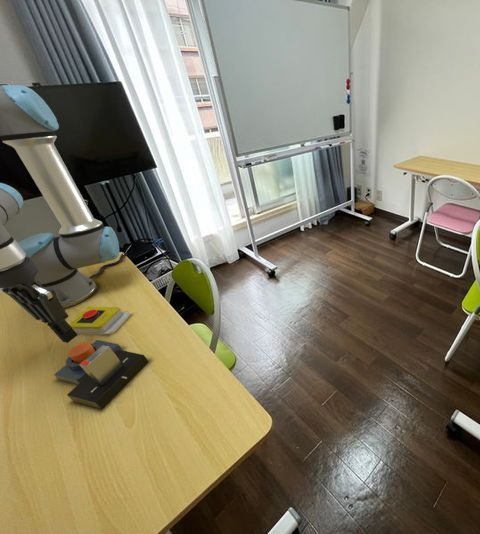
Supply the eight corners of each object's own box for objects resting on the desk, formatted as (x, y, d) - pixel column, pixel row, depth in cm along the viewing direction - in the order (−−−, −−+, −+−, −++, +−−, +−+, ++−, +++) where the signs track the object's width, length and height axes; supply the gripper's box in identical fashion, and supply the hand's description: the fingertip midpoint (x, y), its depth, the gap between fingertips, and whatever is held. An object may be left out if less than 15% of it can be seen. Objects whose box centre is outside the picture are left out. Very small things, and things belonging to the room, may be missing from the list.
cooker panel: (123, 356, 83) (117, 348, 82) (153, 362, 81) (148, 355, 79) (73, 401, 72) (66, 394, 71) (107, 411, 70) (100, 403, 68)
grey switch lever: (117, 363, 78) (102, 344, 73) (123, 365, 77) (108, 345, 73) (96, 383, 73) (78, 364, 68) (102, 385, 72) (85, 365, 68)
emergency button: (82, 303, 96) (125, 303, 95) (89, 313, 99) (132, 313, 98) (57, 324, 89) (104, 324, 88) (66, 334, 91) (111, 334, 90)
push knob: (86, 346, 82) (81, 340, 81) (99, 349, 81) (94, 343, 80) (68, 360, 78) (63, 354, 77) (82, 364, 77) (77, 358, 76)
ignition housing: (100, 344, 87) (93, 335, 85) (122, 349, 86) (115, 339, 83) (58, 379, 78) (49, 370, 76) (81, 385, 76) (72, 376, 74)
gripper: (-40, 270, 61) (36, 345, 75) (5, 278, 58) (75, 354, 72) (3, 251, 67) (66, 324, 80) (46, 257, 64) (103, 331, 78)
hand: (70, 338), depth 76 cm, fingers closed
